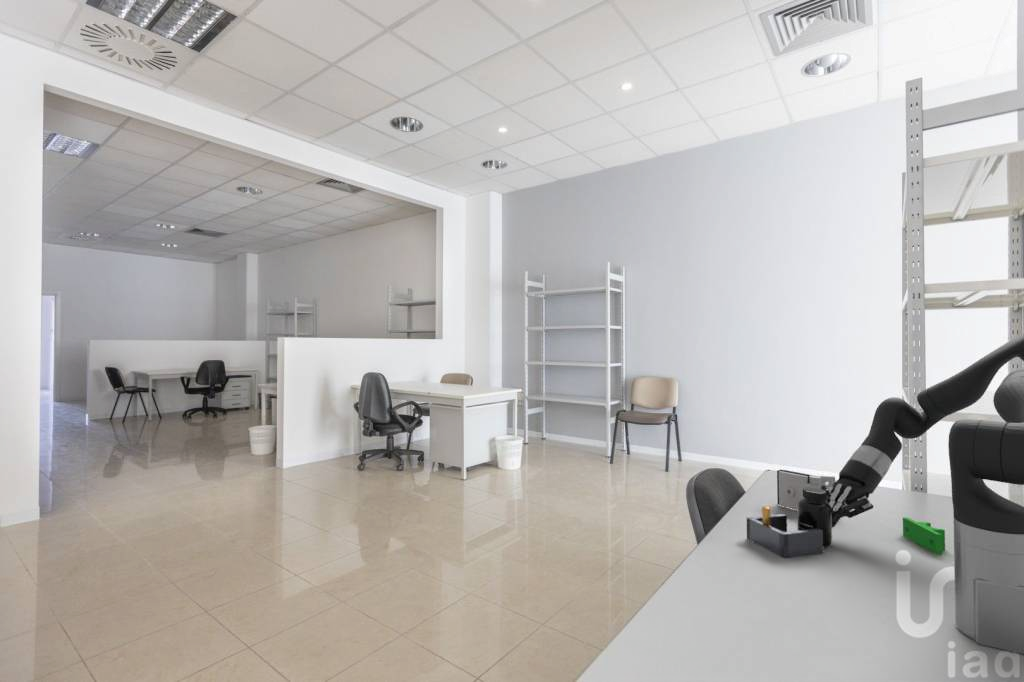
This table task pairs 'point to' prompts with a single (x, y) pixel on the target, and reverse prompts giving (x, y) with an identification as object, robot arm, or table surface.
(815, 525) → the supplement bottle
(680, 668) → the table surface
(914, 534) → the pipe clamp
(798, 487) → the hinge
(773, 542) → the keeper cradle
